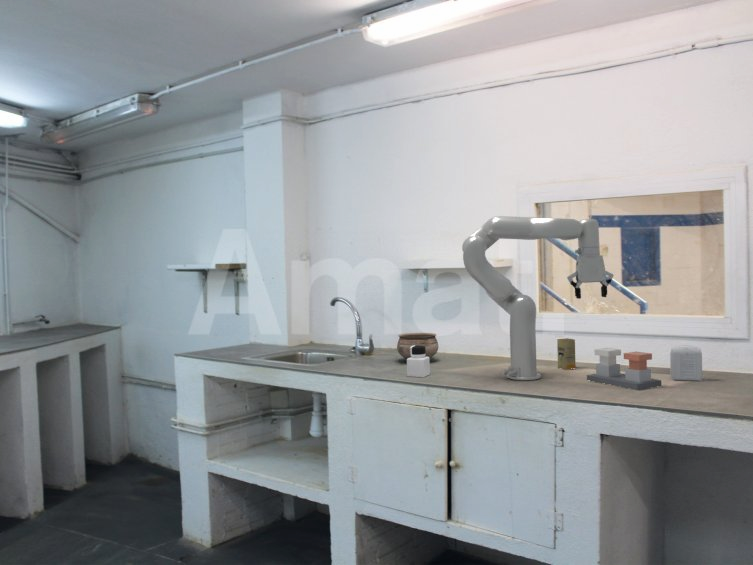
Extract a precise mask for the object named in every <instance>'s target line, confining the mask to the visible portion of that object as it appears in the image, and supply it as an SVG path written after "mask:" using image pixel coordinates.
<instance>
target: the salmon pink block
mask: <svg viewBox="0 0 753 565" xmlns="http://www.w3.org/2000/svg"><path fill="white" fill-rule="evenodd" d="M623 359H624V360H628V368H629V369H634V370H644V369H647V368H648V367H647V366H648V361H649V360H653V353H650V352H644V351H643V352H641V351H630V352H624V353H623Z"/></svg>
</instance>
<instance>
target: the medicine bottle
mask: <svg viewBox="0 0 753 565" xmlns="http://www.w3.org/2000/svg"><path fill="white" fill-rule="evenodd" d="M410 355H411V357H410V358H408V359H406V375H407V377H410V378H411V377H412V378H426V377H427V376H429V375H430V374H431V372H430V370H431V368H430V367H431V366H430V363H431V362H430V359H429V357H425V356H426V351H425V346H423V345H414V346H411V347H410Z"/></svg>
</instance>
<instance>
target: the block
mask: <svg viewBox="0 0 753 565" xmlns="http://www.w3.org/2000/svg"><path fill="white" fill-rule="evenodd" d="M624 369H625V370H624V373H621V364H620V363H616V364H615V365H602V364H600V362H599V363H596V364H595V373H591V374H586V381H587V380H590V381H589V382H592V381H595V382H594V383H597V382H600V383H599V384H602V383H605V384H604V385H607V384H611V385H610V386H613V385H616V386H615V387H618V386H621V387H620V388H623V387H625V388H624V389H628V388H630V389H629V390H634V389H635V390H634V391H640V390H639V389H641V390H646V389H645V388H647V389H651V387H653V388H658V387H657V386H659V387H662V380H661V379H656V378H652V369H651V368H648V367H647V369H644V370H634V369H629V367H626V368H624Z"/></svg>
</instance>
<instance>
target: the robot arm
mask: <svg viewBox="0 0 753 565" xmlns="http://www.w3.org/2000/svg"><path fill="white" fill-rule="evenodd" d="M599 228H600V227H599V221H598V220H597V219H595V218H590V219H580V220H579V221H578V220H576V219H574V218H559V217H557V218H556V217H555V218H554V217H534V216H531V217H530V216H506V215H498V216H493V217H491V218H489V219H488V220H487V221H486V222H485V223H483V224H482V225H481V226H480V227H479V228H477V229H476V231H474V232H472V234H470V235H469V236H468V237H467V238H466V239H464V240H463V243H462V246H461V248H462V249H461V250H462V253H463V254H462V259H463V265H464V269H465V270H466V272H467V273H468V274H469V275H470V277H472V279H473V280H474V281H475V282H477V283H478V284H479V286H481V287H482V288H483V290H485V292H486V295H487V296H488V297H489V298H490V299H492V301H494V302H495V303H496V304H497V305H498V306H499V307H500V308H501V309H502V310H504V311H505V312H506V313H507V314H508V315H509V347H510V348H509V351H510V353H509V354H510V365H508V368H507V369H501V370H500V374H501V375H502V376H503V375H506V378H508V379H509V380H513V381H536V380H539V379H541V378H542V375H541V373H538V372H537V370H538V369H537V340H536V338H537V337H536V336H537V335H536V322H537V320H536V319H537V306H536V303H535V301H534V299H533V298H532V297H531V296H530V295H527V294H523V292H521V291H520V290H518V289H517V288H516V287H515V285H513V283H512V281H511V280H510V279H509V278H507V276H505V275H503V273H501V272H500V271H499V270H498V269H497V268H496V267H494V266H493V265H492V264H491V263H490V262H489V261H488V259H487V257H486V251H487V250H488V249H489V248H491V247H492V246H493V245H495V243H497V241H499V240H500V239H501V240H502V239H503V240H505V239H506V240H525V241H526V240H527V241H530V240H531V241H533V240H535V241H536V240H542V239H554V240H555V239H557V240H558V239H559V240H562V241H571V240H575V239H576V240H577V243H578V244H577V245H578V248H577V249H575V250H574V253H575V254H578V256H577V257H576V262H575V272H573V273H572V274H569V275H568V276H567V277H566V279H567V280H568V282H569V284H570V286H572V287H573V288H574V296H575V297H576V299H577V300H579V299H582V291H581V290H582V289H581V285H582V284H587V283H589V284H590V283H599V284H601V287H600V295H601V297H602V298H607V295H608V287H609V284H611V282H612V280H613V278H614V274H613V273H612V272H609V271H607V270H606V267H605V266H606V265H605V261H604V257H603V254H602V255H601V254H600V252H601V251H600V250H601V249H600V248H601V247H600V229H599ZM574 278H575V280H576V281H574V280H573V279H574Z"/></svg>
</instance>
